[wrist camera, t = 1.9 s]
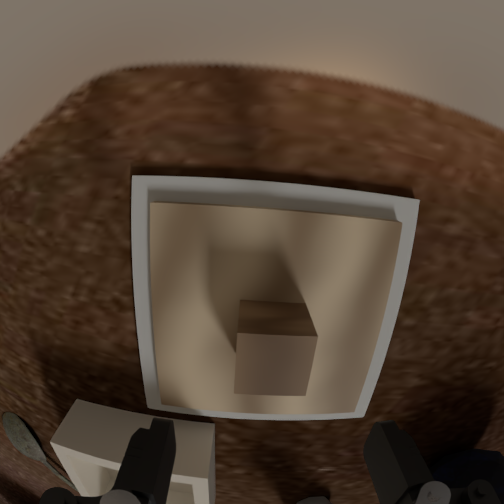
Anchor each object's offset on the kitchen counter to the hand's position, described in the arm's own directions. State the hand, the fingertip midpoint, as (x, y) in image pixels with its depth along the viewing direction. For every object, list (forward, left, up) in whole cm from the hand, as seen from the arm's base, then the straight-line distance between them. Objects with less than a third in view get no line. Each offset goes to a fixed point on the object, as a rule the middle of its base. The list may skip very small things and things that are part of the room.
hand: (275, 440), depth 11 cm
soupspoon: (+24, +27, -11) cm, 37 cm away
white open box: (+10, +17, -11) cm, 22 cm away
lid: (0, 0, -10) cm, 10 cm away
